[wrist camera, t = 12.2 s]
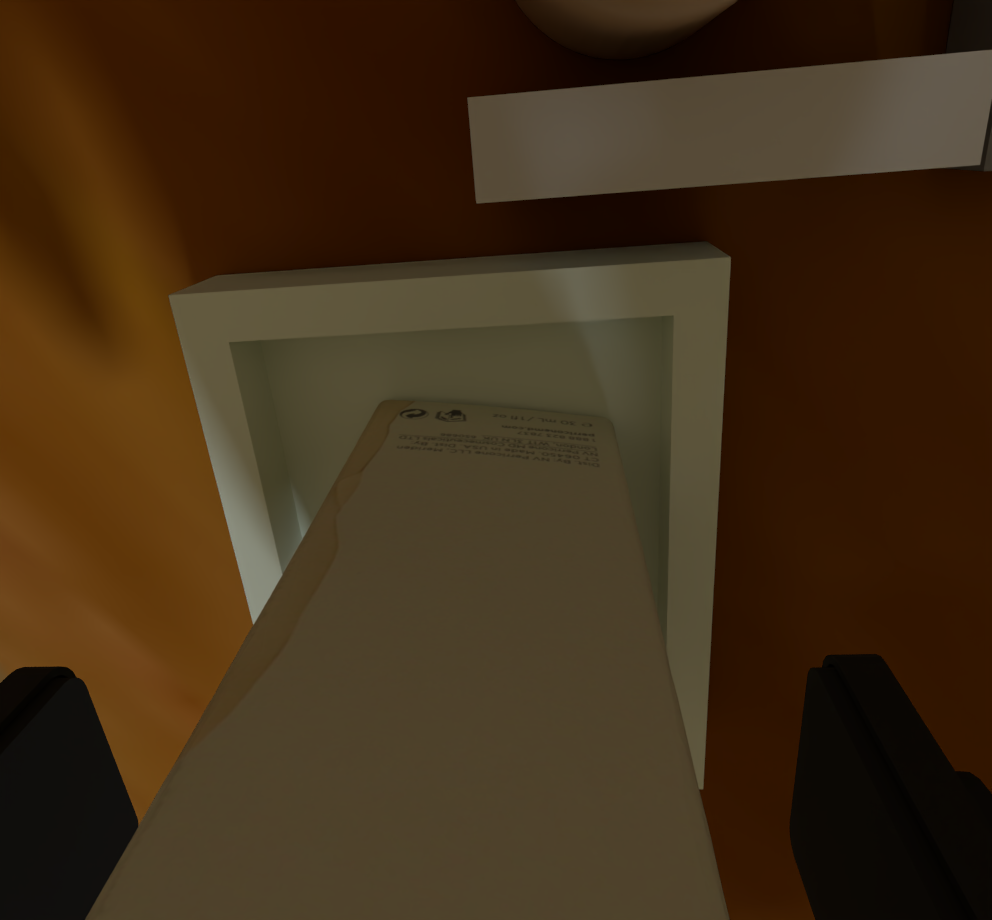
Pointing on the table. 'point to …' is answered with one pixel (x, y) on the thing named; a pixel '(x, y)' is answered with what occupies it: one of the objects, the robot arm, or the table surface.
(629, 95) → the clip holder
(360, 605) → the skincare box
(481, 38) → the table surface
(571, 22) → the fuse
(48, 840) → the robot arm
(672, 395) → the tray
